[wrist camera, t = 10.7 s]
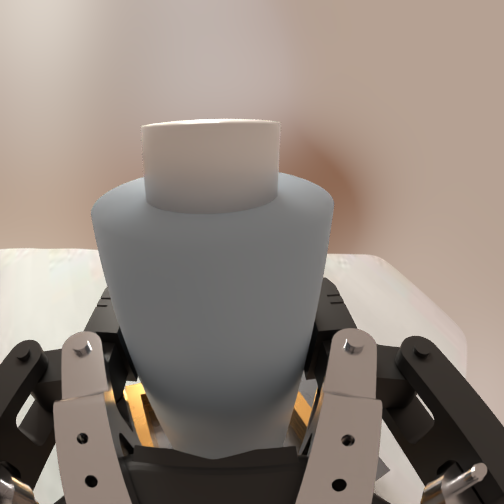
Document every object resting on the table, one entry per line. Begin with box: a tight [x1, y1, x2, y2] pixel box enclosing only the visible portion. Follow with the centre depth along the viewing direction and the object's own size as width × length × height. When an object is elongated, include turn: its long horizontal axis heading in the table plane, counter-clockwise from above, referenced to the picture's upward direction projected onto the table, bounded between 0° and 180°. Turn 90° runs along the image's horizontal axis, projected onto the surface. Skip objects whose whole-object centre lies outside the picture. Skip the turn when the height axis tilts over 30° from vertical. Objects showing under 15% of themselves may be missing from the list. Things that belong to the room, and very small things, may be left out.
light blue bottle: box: [91, 119, 334, 459], centre depth 9 cm, size 6×6×15 cm
